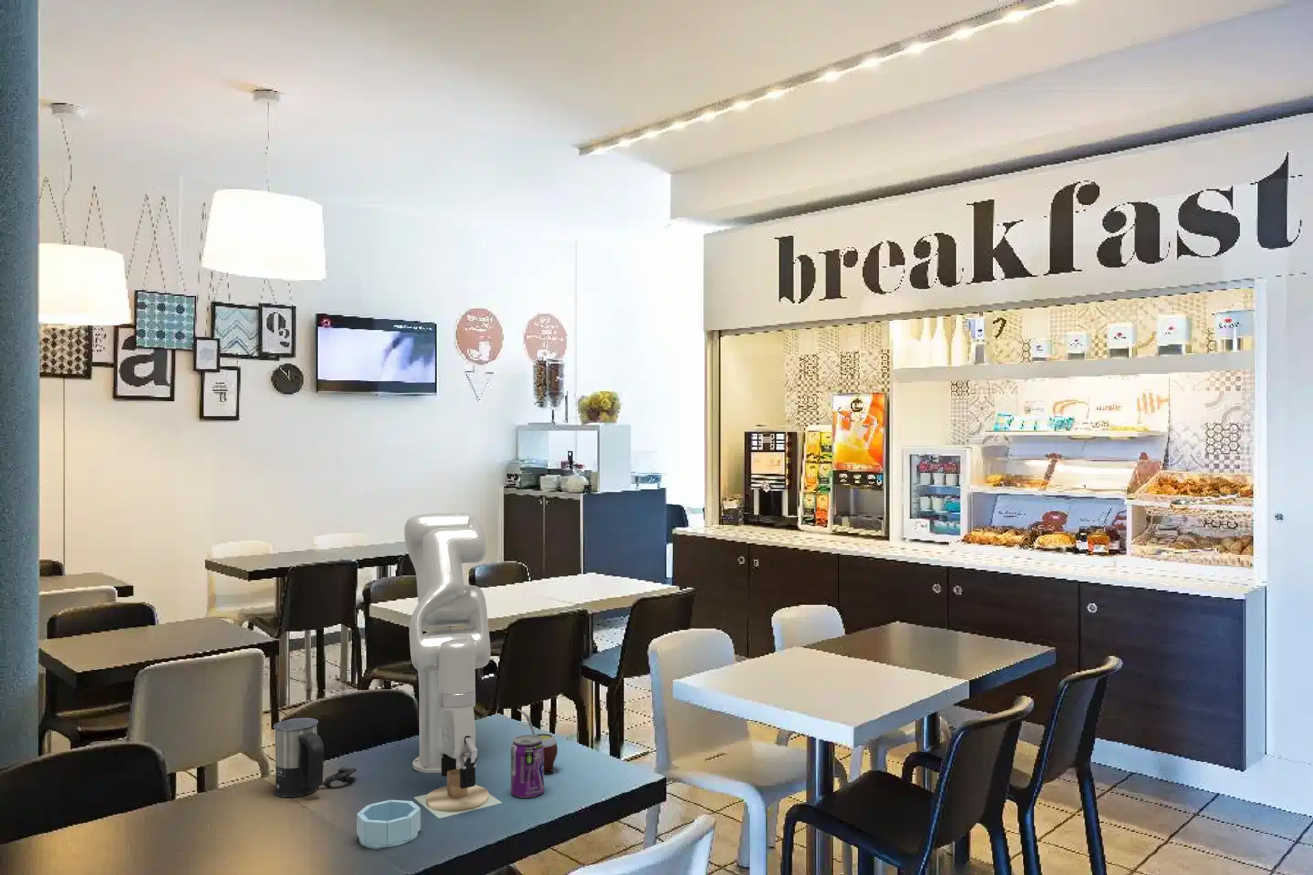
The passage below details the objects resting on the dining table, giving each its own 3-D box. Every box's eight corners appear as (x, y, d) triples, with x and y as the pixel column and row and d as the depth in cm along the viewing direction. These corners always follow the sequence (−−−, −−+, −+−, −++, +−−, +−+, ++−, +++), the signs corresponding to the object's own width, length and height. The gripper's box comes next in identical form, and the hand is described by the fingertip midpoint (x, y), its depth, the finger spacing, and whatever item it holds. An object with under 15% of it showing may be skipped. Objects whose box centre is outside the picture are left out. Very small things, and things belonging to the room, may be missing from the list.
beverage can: (537, 801, 199) (537, 745, 200) (506, 799, 201) (505, 743, 201) (548, 789, 206) (548, 734, 207) (517, 787, 208) (517, 733, 208)
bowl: (351, 834, 183) (351, 808, 183) (406, 820, 190) (406, 796, 190) (370, 854, 174) (370, 827, 174) (427, 839, 181) (426, 813, 181)
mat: (413, 799, 201) (413, 797, 201) (474, 785, 209) (474, 783, 209) (439, 820, 190) (439, 818, 190) (502, 804, 198) (502, 802, 198)
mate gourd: (563, 769, 219) (563, 705, 219) (541, 779, 213) (541, 713, 213) (538, 763, 223) (538, 700, 223) (516, 773, 217) (516, 708, 217)
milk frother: (264, 794, 204) (263, 726, 205) (315, 771, 219) (315, 707, 219) (315, 804, 199) (315, 733, 199) (365, 779, 214) (365, 713, 214)
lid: (416, 797, 201) (416, 769, 201) (473, 784, 209) (473, 757, 209) (440, 816, 191) (440, 787, 191) (499, 802, 198) (498, 773, 198)
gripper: (424, 694, 204) (425, 774, 204) (457, 709, 190) (458, 795, 190) (457, 689, 209) (458, 767, 208) (491, 704, 195) (492, 788, 194)
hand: (458, 780), depth 199 cm, fingers open, 9 cm apart
